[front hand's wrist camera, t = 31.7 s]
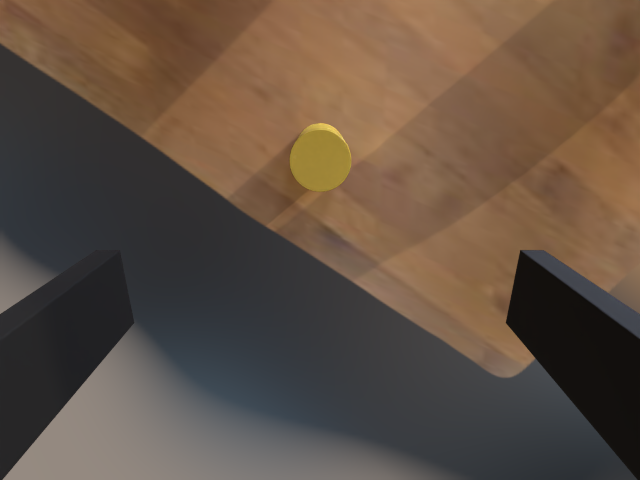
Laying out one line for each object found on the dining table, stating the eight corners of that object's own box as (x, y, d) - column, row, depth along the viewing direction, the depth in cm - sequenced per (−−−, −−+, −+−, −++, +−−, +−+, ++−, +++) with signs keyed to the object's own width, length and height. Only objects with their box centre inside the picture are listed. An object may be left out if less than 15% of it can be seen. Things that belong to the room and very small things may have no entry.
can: (286, 157, 49) (278, 171, 39) (311, 113, 47) (309, 116, 37) (328, 182, 50) (330, 202, 40) (354, 140, 49) (363, 151, 38)
